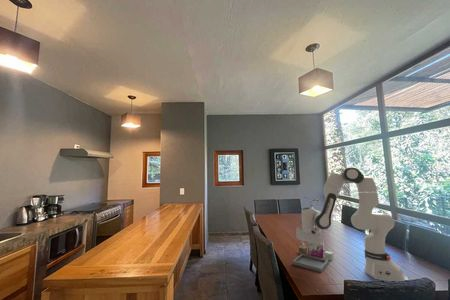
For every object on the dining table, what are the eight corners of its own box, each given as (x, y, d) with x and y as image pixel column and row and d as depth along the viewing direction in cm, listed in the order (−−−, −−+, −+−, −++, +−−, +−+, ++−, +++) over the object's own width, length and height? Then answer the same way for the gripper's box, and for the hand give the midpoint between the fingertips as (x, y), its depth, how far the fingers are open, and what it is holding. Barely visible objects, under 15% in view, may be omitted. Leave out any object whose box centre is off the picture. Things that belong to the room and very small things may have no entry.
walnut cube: (307, 253, 172) (306, 247, 173) (304, 255, 168) (304, 248, 169) (301, 251, 175) (300, 245, 176) (299, 253, 172) (298, 247, 172)
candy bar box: (308, 256, 166) (307, 235, 168) (308, 253, 170) (307, 233, 172) (323, 257, 162) (322, 236, 164) (323, 255, 167) (321, 234, 169)
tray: (328, 263, 152) (328, 260, 152) (321, 272, 138) (321, 268, 138) (301, 256, 165) (301, 253, 165) (292, 264, 151) (292, 261, 151)
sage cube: (333, 258, 160) (332, 252, 160) (331, 261, 156) (331, 254, 157) (326, 257, 163) (326, 250, 164) (324, 259, 159) (324, 252, 160)
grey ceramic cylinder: (325, 250, 178) (324, 241, 178) (323, 252, 174) (323, 243, 175) (319, 249, 181) (318, 240, 182) (317, 250, 177) (316, 242, 178)
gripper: (294, 226, 161) (295, 245, 160) (318, 232, 145) (320, 253, 144) (298, 225, 165) (299, 243, 164) (323, 231, 149) (324, 251, 147)
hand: (309, 248), depth 154 cm, fingers open, 8 cm apart
